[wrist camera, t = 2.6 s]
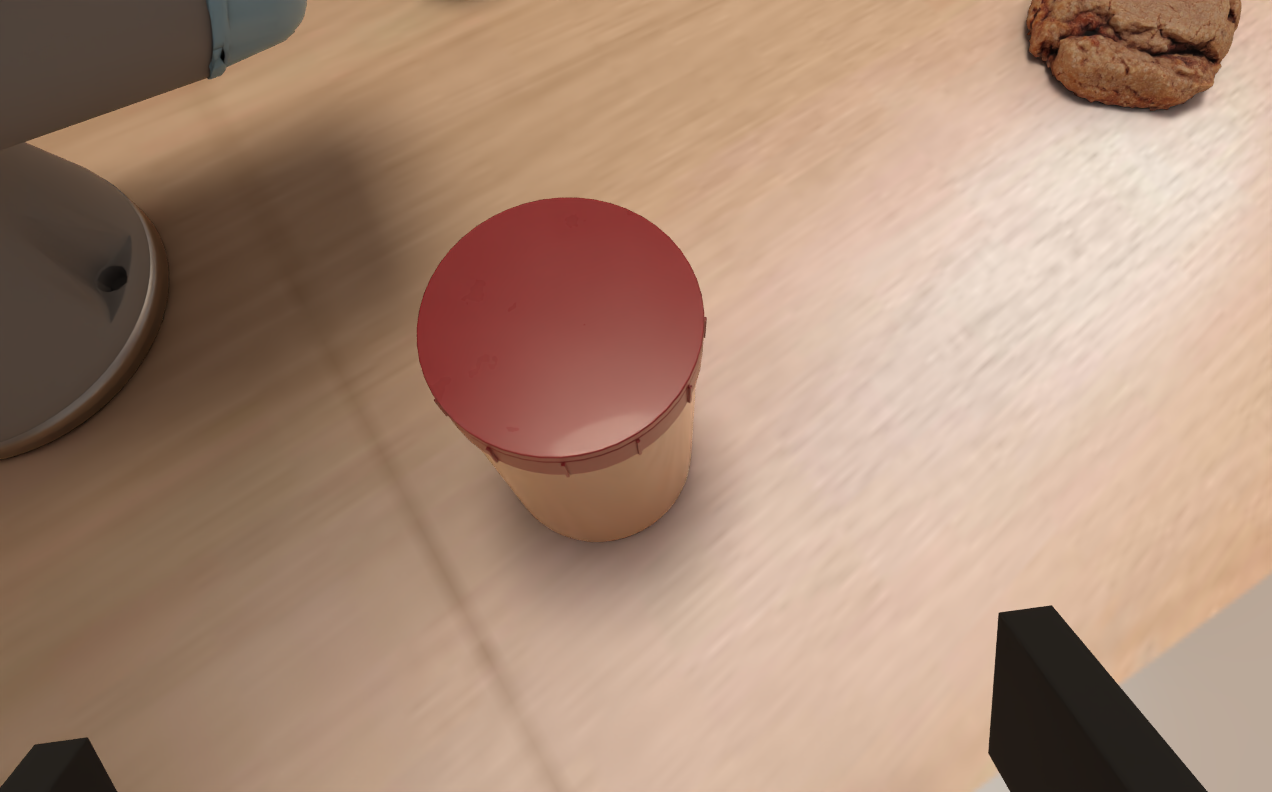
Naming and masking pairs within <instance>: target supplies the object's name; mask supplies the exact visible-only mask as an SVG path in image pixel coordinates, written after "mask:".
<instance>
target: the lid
mask: <svg viewBox="0 0 1272 792" xmlns="http://www.w3.org/2000/svg"><path fill="white" fill-rule="evenodd" d="M706 321H707V319H706V317H704V307H703V300H702V294H701V291H700V288H699V285H698V281H697V278H696V276H695V274H694V272H693V270H692V268H691V266H690V264H689V262H688V261H687V259H686V258H685V256H684V255H683V253H682V251H681V250H680V249H679V248H678V247H677V245H676V244H675V243H674V242H673V241H672V240H671V239H670V237H669V236H667V235H666V234H665V233H664V232H663V231H662V230H660V229H659V228H658V227H657V226H656V225H654V224H653V223H651V222H650V221H648V220H647V219H645V218H644V217H642V216H640V215H638V214H636V213H634V212H632V211H630V210H628V209H626V208H623V207H620V206H617V205H614V204H611V203H607V202H603V201H598V200H594V199H585V198H552V199H543V200H538V201H534V202H529V203H525V204H522V205H519V206H516V207H513V208H510V209H507V210H505V211H503V212H501V213H499V214H497V215H495V216H493V217H491V218H489V219H488V220H486V221H484V222H483V223H481V224H480V225H478V226H476V227H475V228H474V229H473V230H471V231H470V232H469V233H468V234H466V235H465V236H464V237H462V238H461V240H460V241H459V242H458V243H457V244H456V245H455V246H454V247H453V248H452V249H451V250H450V251H449V252H448V253H447V255H446V256H445V257H444V258H443V260H442V261H441V262H440V264H439V265H438V267H437V269H436V270H435V272H434V274H433V275H432V277H431V279H430V281H429V283H428V286H427V288H426V290H425V293H424V296H423V299H422V303H421V306H420V310H419V316H418V323H417V348H418V355H419V361H420V365H421V368H422V371H423V374H424V378H425V380H426V382H427V384H428V386H429V388H430V390H431V392H432V394H433V396H434V397H435V399H434V401H435V403H436V404H437V405H438V407H439V408H440V409H441V410H442V412H443V413H444V414H445V415H446V416H449V418H450V419H451V420H452V421H453V423H454V424H455V425H456V426H457V428H458V429H459V430H460V431H461V432H462V433H463V434H464V435H465V436H466V437H467V438H468V440H470V441H471V442H472V443H473V444H474V445H476V446H477V447H478V448H479V449H481V450H482V451H483V452H485V453H487V454H488V455H490V456H491V458H492V459H493V460H494V461H495V462H496V463H498V461H501V462H503V463H505V464H508V465H510V466H512V467H515V468H519V469H522V470H526V471H530V472H535V473H542V474H549V475H566V477H570V475H572V474H580V473H588V472H592V471H596V470H600V469H604V468H607V467H610V466H613V465H615V464H618V463H620V462H623V461H625V460H627V459H629V458H630V457H632V456H634V455H636V454H639V455H641V454H642V450H644V449H645V448H647V447H648V446H650V445H651V444H652V443H654V442H655V441H656V440H657V439H658V438H659V437H660V436H661V435H663V434H664V433H665V432H666V431H667V430H668V429H669V428H670V426H671V425H672V424H673V423H674V421H675V420H676V419H677V418H678V417H679V415H680V414H681V412H682V410H683V409H684V407H685V406H686V404H687V402H688V403H691V401H692V392H693V390H694V387H695V385H696V382H697V378H698V375H699V371H700V367H701V359H702V352H703V339H704V338H705V333H706Z"/></svg>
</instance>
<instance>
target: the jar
mask: <svg viewBox="0 0 1272 792" xmlns="http://www.w3.org/2000/svg"><path fill="white" fill-rule="evenodd" d="M695 388H696V385H695V387H694V390H693V392H692V401H691V403H688V402H687V404H686V406H685V407H684V409H683V410H682V412H681V414H680V415H679V417H678V418H677V419H676V420H675V421H674V423H673V424H672V425H671V426H670V428H669V429H668V430H667V431H666V432H665V433H664V434H663V435H661V436H660V437H659V438H658V439H657V440H656V441H655V442H654V443H652V444H651V445H650V446H648V447H647V448H645V449H644V450H642V454H641V455H639V454H636V455H634V456H632V457H630V458H629V459H627V460H625V461H623V462H620V463H618V464H615V465H613V466H610V467H607V468H604V469H600V470H596V471H592V472H588V473H580V474H572V475H570V477H566V475H549V474H542V473H535V472H530V471H526V470H522V469H519V468H515V467H512V466H510V465H508V464H505V463H503V462H501V461H498V463H496V462H495V461H494V460H493V459H492V458H491V456H490V455H488V454H487V453H485V452H483V451H482V450H481V451H482V452H483V453H484V454H485V456H486V457H487V458H488V460H489V461H490V462H491V463H492V465H493V466H494V467H495V469H496V470H497V471H498V472H499V474H500V475H501V476H502V478H503V479H504V480H505V481H506V483H507V484H508V485H509V487H510V488H511V489H512V490H513V492H514V493H515V494H516V496H517V497H518V498H519V499H520V501H521V502H522V503H523V505H524V506H525V507H526V508H527V510H528V511H529V512H530V513H531V514H532V515H533V516H534V517H535V518H536V519H537V520H538V521H540V522H541V523H542V524H543V525H545V526H546V527H548V528H549V529H551V530H553V531H554V532H557V533H559V534H561V535H563V536H566V537H569V538H573V539H576V540H582V541H588V542H605V541H613V540H618V539H622V538H626V537H629V536H631V535H634V534H636V533H639V532H640V531H642V530H644V529H646V528H648V527H649V526H651V525H652V524H653V523H655V522H656V521H657V520H659V519H660V518H661V517H662V516H663V515H664V514H665V513H666V512H667V511H668V510H669V509H670V507H671V506H672V505H673V504H674V502H675V501H676V499H677V498H678V496H679V494H680V493H681V491H682V489H683V486H684V484H685V482H686V479H687V475H688V472H689V468H690V461H691V449H692V434H693V419H694V403H695Z"/></svg>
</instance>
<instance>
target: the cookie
mask: <svg viewBox="0 0 1272 792" xmlns="http://www.w3.org/2000/svg"><path fill="white" fill-rule="evenodd" d="M1240 13H1241V1H1240V0H1032V3H1031V6H1030V8H1029V10H1028V18H1027V20H1026V22H1027V28H1028V29H1029V30H1030V31H1029V32H1028V34H1027V35H1031V39H1030V40H1029V42H1030V44H1031V45H1030V47H1029V52H1031V53H1032V54H1033V55H1034V57H1042V61H1047V67H1048V68H1049V67H1051V71H1052V76H1055V77H1056V80H1059V81H1061V82H1062V84H1063V85H1064V86H1065V87H1066V88H1067V89H1068V90H1069V91H1073V92H1074V94H1075V95H1076V96H1079V97H1081V98H1086V99H1087V100H1089V101H1090V102H1091V103H1092V102H1093V101H1100V102H1102V103H1104V104H1106V105H1110V104H1115V105H1119V106H1123V107H1128V106H1129V107H1131V108H1134V107H1139V108H1146V107H1150V111H1154V110H1157V109H1166V110H1168V109H1169V107H1171V106H1175V105H1178V104H1184V103H1185V102H1186V101H1187V100H1188V99H1190V98H1192V97H1193V96H1194V95H1195V94H1197V93H1199V92H1202V91H1206V90H1207V89H1209V88H1210V87H1211V86H1213V83H1214V77H1215V74H1216V73H1217V72H1218V70H1219V68H1220V67H1221V64H1220V62H1221V61H1222V59H1223V58H1224V57H1225V56H1226V54H1227V53H1228V51H1229V49H1230V46H1231V44H1232V40H1233V35H1234V32H1235V30H1236V29H1237V27H1238V23H1239V19H1240Z"/></svg>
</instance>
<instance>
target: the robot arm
mask: <svg viewBox="0 0 1272 792" xmlns="http://www.w3.org/2000/svg"><path fill="white" fill-rule="evenodd" d="M306 6H307V0H0V459H5V458H9V457H12V456H16V455H19V454H23V453H25V452H28V451H31V450H33V449H36V448H38V447H41V446H43V445H45V444H47V443H49V442H51V441H54V440H55V439H57V438H59V437H61V436H63V435H64V434H66V433H68V432H70V431H71V430H73V429H74V428H76V427H77V426H79V425H80V424H82V423H83V422H85V421H86V420H87V419H89V418H90V417H91V416H92V415H94V414H95V413H96V412H98V411H99V410H100V409H101V408H102V407H103V406H104V405H105V404H107V403H108V402H109V401H110V400H111V399H112V398H113V397H114V396H115V395H116V394H117V393H118V392H119V391H120V390H121V388H122V387H123V386H124V385H125V384H126V383H127V381H128V380H129V379H130V378H131V377H132V375H133V374H134V373H135V371H136V370H137V368H138V367H139V366H140V364H141V363H142V361H143V360H144V358H145V356H146V355H147V353H148V351H149V349H150V347H151V346H152V344H153V342H154V339H155V337H156V335H157V333H158V331H159V328H160V325H161V322H162V319H163V316H164V312H165V308H166V304H167V297H168V290H169V270H168V261H167V256H166V252H165V249H164V246H163V243H162V240H161V238H160V236H159V234H158V232H157V230H156V228H155V227H154V225H153V224H152V222H151V221H150V219H149V218H148V217H147V216H146V215H145V214H144V212H143V211H142V210H141V209H140V208H139V207H137V206H136V205H135V204H134V203H133V202H132V201H131V200H130V199H129V198H128V197H127V196H125V195H124V194H123V193H122V192H121V191H120V190H119V189H117V188H116V187H115V186H114V185H112V184H111V183H109V182H108V181H106V180H105V179H103V178H101V177H99V176H98V175H96V174H95V173H93V172H91V171H90V170H88V169H86V168H84V167H82V166H79V165H77V164H75V163H72V162H70V161H68V160H65V159H63V158H61V157H58V156H56V155H54V154H51V153H49V152H47V151H44V150H42V149H40V148H37V147H35V146H32V145H30V144H28V143H25V142H26V141H29V140H32V139H34V138H37V137H40V136H43V135H46V134H49V133H51V132H54V131H57V130H60V129H63V128H66V127H69V126H71V125H74V124H77V123H80V122H83V121H86V120H89V119H91V118H94V117H97V116H100V115H103V114H106V113H109V112H111V111H114V110H117V109H120V108H123V107H126V106H128V105H131V104H134V103H137V102H140V101H143V100H146V99H148V98H151V97H154V96H157V95H160V94H163V93H166V92H168V91H171V90H174V89H177V88H180V87H183V86H185V85H188V84H191V83H194V82H197V81H200V80H203V79H205V78H207V79H213V78H216V77H217V76H221V75H222V74H223V73H224V71H225V69H226V67H228V66H230V65H232V64H235V63H237V62H239V61H241V60H244V59H246V58H248V57H250V56H252V55H255V54H257V53H259V52H261V51H264V50H266V49H268V48H270V47H272V46H275V45H277V44H279V43H281V42H283V41H285V40H286V39H287V38H288V37H290V36H291V35H292V34H293V33H294V32H295V29H296V28H297V27H298V26H299V25H300V23H301V22H302V20H303V17H304V14H305V10H306ZM988 753H989V755H990V757H991V759H992V760H993V762H994V764H995V766H996V767H997V769H998V771H999V773H1000V774H1001V776H1002V778H1003V780H1004V781H1005V783H1006V785H1007V787H1008V789H1009V790H1010V792H1207V791H1206V789H1205V788H1204V787H1203V786H1202V785H1201V783H1200V782H1199V781H1198V780H1197V779H1196V777H1195V776H1194V775H1193V774H1192V773H1191V771H1190V770H1189V769H1188V768H1187V767H1186V765H1185V764H1184V763H1183V762H1182V761H1181V759H1180V758H1179V757H1178V756H1177V755H1176V753H1175V752H1174V751H1173V750H1172V749H1171V747H1170V746H1169V745H1168V744H1167V743H1166V742H1165V740H1164V739H1163V738H1162V737H1161V735H1160V734H1159V733H1158V732H1157V731H1156V729H1155V728H1154V727H1153V726H1152V725H1151V724H1150V723H1149V722H1148V720H1147V719H1146V718H1145V716H1144V715H1143V714H1142V713H1141V712H1140V710H1139V709H1138V708H1137V707H1136V706H1135V704H1134V703H1133V702H1132V701H1131V700H1130V698H1129V697H1128V696H1127V695H1126V694H1125V692H1124V691H1123V690H1122V689H1121V688H1120V686H1119V685H1118V684H1117V683H1116V682H1115V680H1114V679H1113V678H1112V677H1111V676H1110V674H1109V673H1108V672H1107V671H1106V670H1105V668H1104V667H1103V666H1102V665H1101V664H1100V662H1099V661H1098V660H1097V659H1096V658H1095V656H1094V655H1093V654H1092V653H1091V652H1090V651H1089V649H1088V648H1087V647H1086V646H1085V645H1084V643H1083V642H1082V641H1081V640H1080V639H1079V637H1078V636H1077V635H1076V634H1075V633H1074V631H1073V630H1072V629H1071V628H1070V627H1069V625H1068V624H1067V623H1066V622H1065V621H1064V619H1063V618H1062V617H1061V616H1060V615H1059V613H1058V612H1057V611H1056V610H1055V609H1054V607H1053V606H1052V605H1051V606H1044V607H1037V608H1030V609H1022V610H1015V611H1008V612H1000V613H999V616H998V630H997V643H996V657H995V670H994V684H993V697H992V711H991V725H990V738H989V752H988ZM0 792H117V790H116V789H115V787H114V785H113V783H112V781H111V779H110V777H109V776H108V774H107V772H106V770H105V768H104V766H103V765H102V763H101V761H100V759H99V757H98V755H97V754H96V752H95V750H94V748H93V746H92V744H91V742H90V741H89V739H88V738H80V739H73V740H66V741H58V742H51V743H44V744H36V745H34V746H33V747H32V749H31V750H30V751H29V752H28V754H27V755H26V756H25V757H24V759H23V760H22V761H21V762H20V764H19V765H18V766H17V767H16V769H15V770H14V771H13V772H12V774H11V775H10V776H9V777H8V779H7V780H6V781H5V782H4V784H3V785H2V786H1V787H0Z"/></svg>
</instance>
